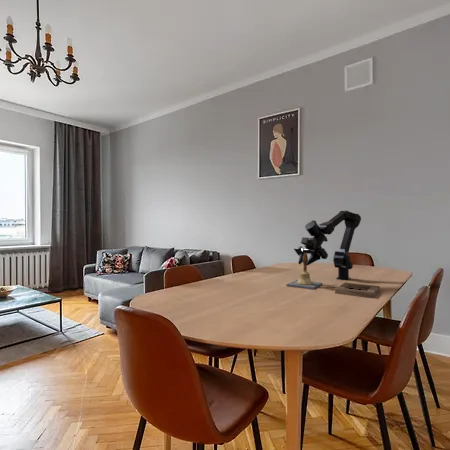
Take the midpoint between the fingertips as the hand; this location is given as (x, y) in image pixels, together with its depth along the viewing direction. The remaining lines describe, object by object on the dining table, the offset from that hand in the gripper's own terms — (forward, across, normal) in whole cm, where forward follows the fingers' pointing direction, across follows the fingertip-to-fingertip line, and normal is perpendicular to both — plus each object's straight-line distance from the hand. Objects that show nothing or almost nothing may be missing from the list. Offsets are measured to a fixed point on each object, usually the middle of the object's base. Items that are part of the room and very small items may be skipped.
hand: (302, 264), depth 161 cm
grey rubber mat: (+7, 0, +9) cm, 11 cm away
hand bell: (+6, 0, +8) cm, 10 cm away
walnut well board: (+1, +24, +15) cm, 29 cm away
